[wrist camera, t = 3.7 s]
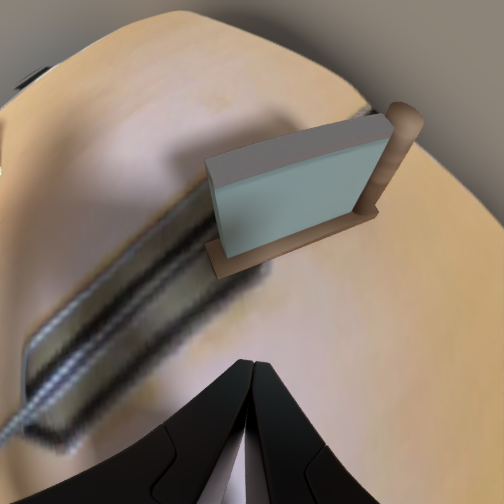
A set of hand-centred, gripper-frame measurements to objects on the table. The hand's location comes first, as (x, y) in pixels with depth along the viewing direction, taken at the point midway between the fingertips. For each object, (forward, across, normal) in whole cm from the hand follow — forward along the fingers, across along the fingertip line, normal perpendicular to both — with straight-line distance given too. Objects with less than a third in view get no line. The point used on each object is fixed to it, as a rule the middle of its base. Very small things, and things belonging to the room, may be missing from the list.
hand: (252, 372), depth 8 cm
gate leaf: (+16, +1, -1) cm, 16 cm away
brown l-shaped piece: (+17, +2, -2) cm, 17 cm away
